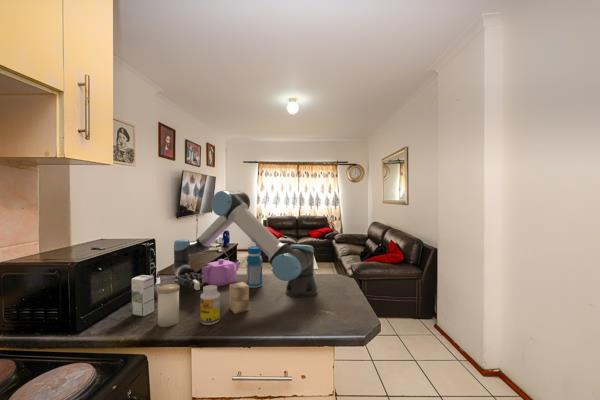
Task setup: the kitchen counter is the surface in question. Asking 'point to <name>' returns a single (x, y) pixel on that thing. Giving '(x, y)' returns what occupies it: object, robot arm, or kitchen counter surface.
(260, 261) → the beverage bottle
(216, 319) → the supplement bottle
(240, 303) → the beech block
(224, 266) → the teakettle
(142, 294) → the syrup box
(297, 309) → the kitchen counter surface
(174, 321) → the cream jar
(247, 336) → the kitchen counter surface
